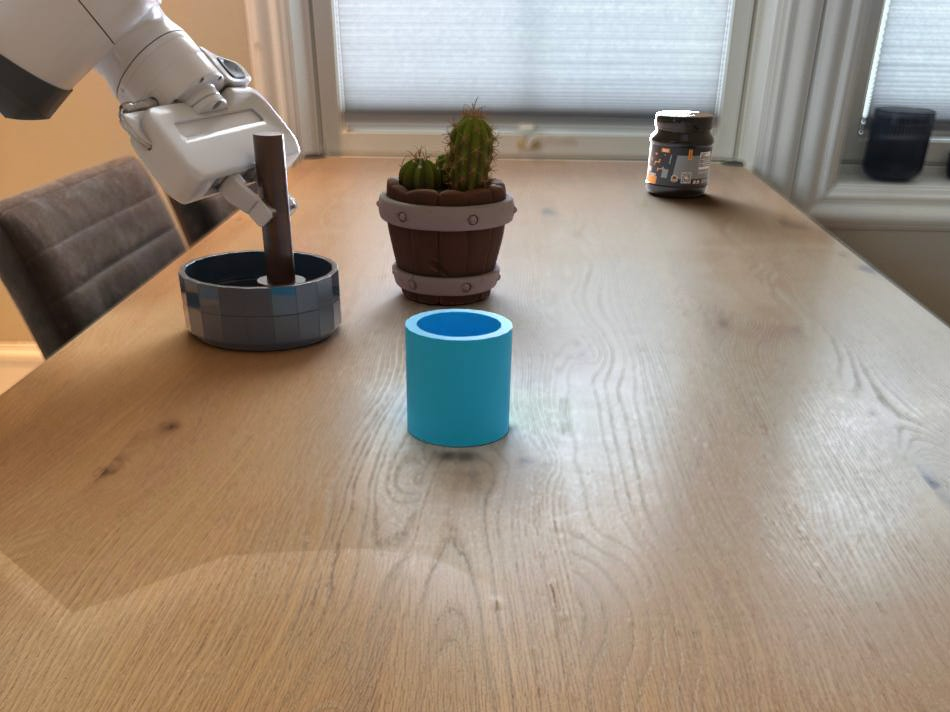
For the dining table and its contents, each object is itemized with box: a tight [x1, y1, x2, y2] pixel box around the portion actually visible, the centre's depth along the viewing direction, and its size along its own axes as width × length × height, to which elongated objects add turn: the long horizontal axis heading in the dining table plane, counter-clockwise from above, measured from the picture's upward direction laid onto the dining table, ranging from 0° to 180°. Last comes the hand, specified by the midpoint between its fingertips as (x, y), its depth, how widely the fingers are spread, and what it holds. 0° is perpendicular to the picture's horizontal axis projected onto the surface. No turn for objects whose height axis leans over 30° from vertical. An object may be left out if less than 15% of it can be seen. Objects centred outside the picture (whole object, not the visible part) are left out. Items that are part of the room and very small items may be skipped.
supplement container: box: [645, 110, 715, 199], centre depth 164 cm, size 10×10×12 cm
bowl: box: [177, 249, 342, 352], centre depth 97 cm, size 15×15×6 cm
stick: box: [253, 132, 306, 287], centre depth 94 cm, size 5×5×15 cm
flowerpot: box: [375, 95, 518, 306], centre depth 105 cm, size 14×15×20 cm
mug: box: [404, 308, 513, 448], centre depth 78 cm, size 12×8×8 cm
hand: (281, 217), depth 94 cm, fingers closed on stick, 3 cm apart
